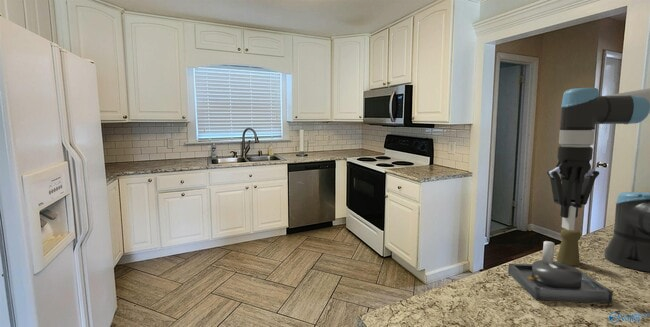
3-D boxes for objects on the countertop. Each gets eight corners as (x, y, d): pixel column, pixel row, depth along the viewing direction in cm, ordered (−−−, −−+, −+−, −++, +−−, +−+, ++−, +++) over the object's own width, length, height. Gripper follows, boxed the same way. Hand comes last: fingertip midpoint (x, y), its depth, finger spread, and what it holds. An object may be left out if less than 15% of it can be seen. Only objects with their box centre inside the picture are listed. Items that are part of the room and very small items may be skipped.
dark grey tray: (571, 274, 93) (572, 265, 93) (611, 303, 79) (612, 291, 78) (508, 272, 95) (508, 263, 95) (536, 300, 80) (536, 289, 80)
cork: (584, 266, 99) (587, 233, 97) (562, 265, 100) (565, 231, 99) (573, 258, 105) (575, 226, 103) (553, 257, 106) (555, 225, 104)
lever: (591, 290, 81) (594, 257, 80) (546, 288, 82) (548, 255, 81) (563, 270, 92) (566, 241, 90) (524, 269, 93) (526, 240, 92)
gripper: (588, 144, 89) (580, 224, 92) (542, 145, 89) (535, 224, 92) (611, 146, 82) (602, 233, 85) (561, 146, 82) (553, 233, 85)
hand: (567, 228), depth 89 cm, fingers closed
